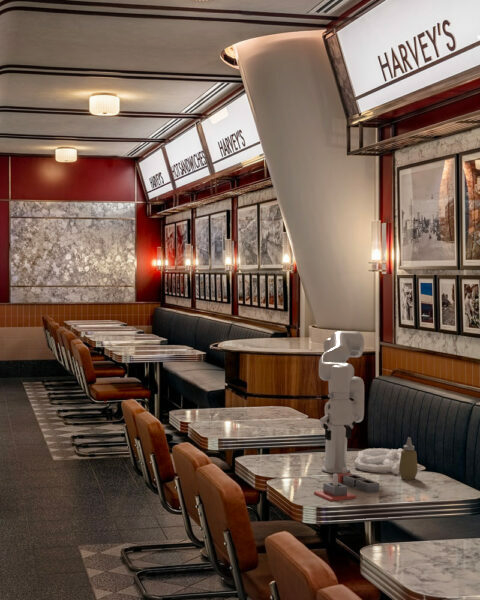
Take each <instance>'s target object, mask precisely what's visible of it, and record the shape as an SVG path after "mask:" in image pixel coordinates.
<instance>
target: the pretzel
mask: <svg viewBox="0 0 480 600" xmlns="http://www.w3.org/2000/svg"><path fill="white" fill-rule="evenodd" d="M402 450H404V448H398V449H396V448H394V449H393V448H391V449H390V448H383V447H381V448H380V447H379V448H375V447H373V448H370V447H369V448H365V449H363V450H359V451H358V453H357V456H356V459H355V460H354V463H353V466H354V468H356V469H357V470H360V471H363V472H371V473H391V474H393V475H396V476H397V475H399V474H400V472H399V465H400V458H401V451H402ZM394 459H396V460H398V461H396V462H395V461H393V460H394Z"/></svg>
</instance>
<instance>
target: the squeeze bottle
mask: <svg viewBox="0 0 480 600" xmlns="http://www.w3.org/2000/svg"><path fill="white" fill-rule="evenodd" d="M417 458H418V455H417V451H416V450H415V446H414V445H413V442H412V438H411V436H410V437H409V436H408V437H407V440H406V444H404V445H403V450H402V451H401V458H400V465H399V475H400V478H401V479H402V480H404V481H405V480H406V481H407V480H408V481H411V480H415V479H416V476H417V473H418V471H419V470H418V459H417Z"/></svg>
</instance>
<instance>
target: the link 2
mask: <svg viewBox="0 0 480 600" xmlns="http://www.w3.org/2000/svg"><path fill="white" fill-rule="evenodd" d="M355 490H358V491H360V492H363V493H366V494H372V492H373V493H379V492H380V482H377V481H374V480H372V479H369V478H366V479H362V480H356V488H355Z"/></svg>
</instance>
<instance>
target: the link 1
mask: <svg viewBox="0 0 480 600" xmlns="http://www.w3.org/2000/svg"><path fill="white" fill-rule="evenodd" d="M352 474H353V473H352ZM362 479H367V478H366V477H364V476H361V475H359V474H353V475H344V476H343V483H342V485H345V486H347V487H350V488H353V489H356V480H362Z"/></svg>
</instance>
